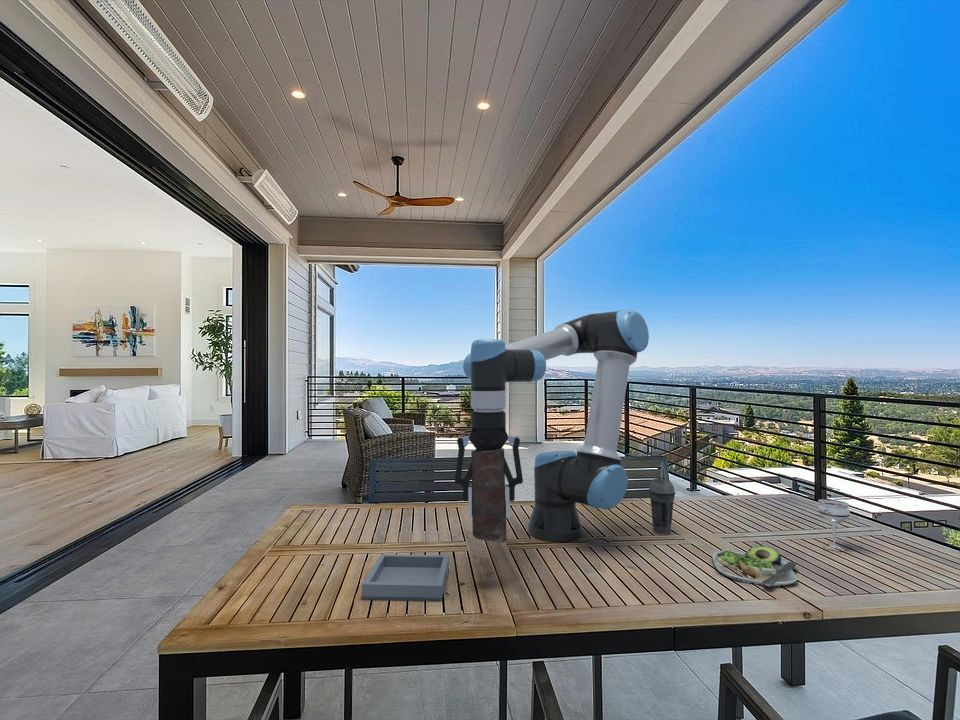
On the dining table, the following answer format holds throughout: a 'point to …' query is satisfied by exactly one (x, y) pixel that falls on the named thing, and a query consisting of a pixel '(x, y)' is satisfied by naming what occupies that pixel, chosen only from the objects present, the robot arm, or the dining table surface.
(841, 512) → the wineglass
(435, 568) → the tray
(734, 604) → the dining table surface
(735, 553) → the salad plate
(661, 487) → the beverage cup
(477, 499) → the brown rough cylinder
